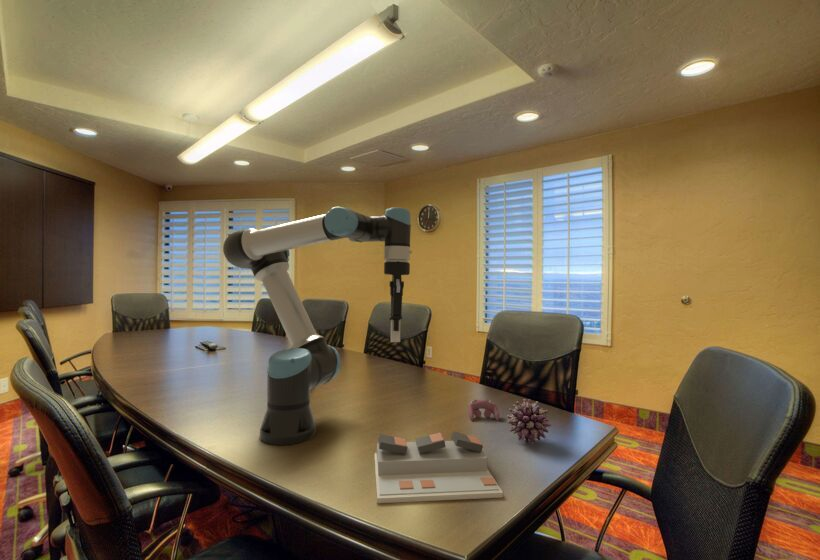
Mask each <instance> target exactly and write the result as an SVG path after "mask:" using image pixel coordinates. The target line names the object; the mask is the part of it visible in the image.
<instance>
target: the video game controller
mask: <svg viewBox="0 0 820 560" xmlns="http://www.w3.org/2000/svg"><path fill="white" fill-rule="evenodd" d="M480 409H482V410H483V409H484V411H483V416H484V417H485V418H486V417H487V418H490V417H491V416H492V415H493V417H494V418H495V421H496V422H497V421H499V420H500V413H499V410H498V406H497V404H496V403H495V402H494V401H493V400H489V399H482V398H478V399H474V400H471V401H470V402H469V403H468V404H467V412H468V417H469V419H470V421H471V422H472V421H474V418H477V417H478V418H480V417H481V416H482V411H481V410H480Z"/></svg>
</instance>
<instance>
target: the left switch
mask: <svg viewBox="0 0 820 560" xmlns="http://www.w3.org/2000/svg"><path fill="white" fill-rule="evenodd" d="M377 441H378V442H377V443H379V449H381V450H386V451H392V452H397V453H402V454H406V452H407V448H408V447H407V443H406V442H407V439H406V438H403V437H398V436H392V435H389V434H383V433H379V436H378V440H377Z"/></svg>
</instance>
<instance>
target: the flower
mask: <svg viewBox="0 0 820 560" xmlns="http://www.w3.org/2000/svg"><path fill="white" fill-rule="evenodd" d="M515 403H516V404H512V406H513V409H512V408H510V407H509V408H508V411H509V412H510V413H511V414H507V416H506V417H507V418H508V419H507V424H510V425H511V428H510V429H509V432H511V433H513V435H515V434H517V436H518V438H517V441H521V440H524V439H525V440H524V441H525V443H528V442H529V441H530V444H531V445H533V444H535V439H537V440H538V441H541V438H543V439H545V438H547V436H546V435H545V433H547V434H548V433H549V430H548V429H547V428H548V427H552V424H551V423H548V422H549V421H550V419H549V418H548V417H547V414H548V413H549V411H548V410H547V409H545V410H544V408H543V407H542V408H541V405H540V404H539V401H535V403H532V401H531V399H525V398H523V402H522V403H520V402H519V401H516V402H515Z"/></svg>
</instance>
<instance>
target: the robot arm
mask: <svg viewBox="0 0 820 560" xmlns="http://www.w3.org/2000/svg"><path fill="white" fill-rule="evenodd" d="M411 221H412V219H411V211H410V210H409V209H407V208H405V207H404V208H403V207H390V208H389V207H388V208H387V209H385V213H384V215H381V216H379V215H378V216H374V215H373V216H369V215H365V214H362V213H360V212H358V211H357V212H356V211H354V210H352V209H350V208H348V207H345V206H342V207H341V206H334V207H331V209H329V210H328V211H327V212H326V213H325V214H320V215H316V216H312V217H307V218H303V219H299V220H295V221H294V220H293V221H290V222H286V223H282V224H278V225H273V226H269V227H265V228H261V229H255V228H253V227H250V228H246V229H242V230H236V231H234V232H232V233H230V234H229V235H228V236H226V238H225V240H224V243H223V246H222V251H223V255H224V258H225V259H226V260H227V262H228V263H229V264H231V265H232V266H234V267H236V268H240V269H247V270H248V269H250V270H251V272H252V274H253V277H254V278H255V280H257V281H260V282H262V285H263V286H264V289H265V290H266V293H267V295H268V298H269V300H270V302H271V304H272V306H273V309H274V310H275V312H276V315H277V318H278V320H279V322H280V324H281V326H282V328H283V330H284V332H285V335H286V337H287V339H288V342H289V343H290V345H291V348H288V349H286V348H285V349H282V350H279V351H276V352H273V353H272V354H271V355H270V357H269V359H268V366H267V370H266V371H267V396H266V397H267V398H266V399H267V400H266V401H267V403H266V406H267V407H266V411H265V413H264V417H263V420H262V422H261V426H260V428H259V439H260V440H261V441H262V442H264V443H266V444H268V445H269V444H270V445H274V446H284V445H294V444H299V443H302V442H306V441H307V440H309V439H311V438H313V437H314V436H315V435H316V432H317V431H316V427H317V425H316V421H315V418H314V414H313V410H312V408H311V391H312V389H315V388H317V387H320V386H322V385H326V384H328V383H329V382H330V381H332V380H333V379H334V378H336V377H337V375H338V373H340V369H341V362H342V361H341V356H340V353H339V352H338V350H337V349H336V348H335V347H334V346H331V345H329V344H327V341H326V339H325V338H324V336H323V335H319V334H318V333H317V332H316V329H315V328H314V326H313V323H312V321H311V318H310V317H309V314H308V313H307V310H306V309H305V306H304V304H303V302H302V300H301V298H300V296H299V294H298V291H297V289H296V287H295V285H294V283H293V281H292V279H291V276H290V274H289V272H288V270H289V268H290V264H289V260H290V258H289V257H290V250H294V249H298V248H302V247H307V246H312V245H313V246H314V245H317V244H322V243H326V242H331V241H336V240H342V239H348V240H349V241H350V242H353V243H354V242H355V243H366V242H367V243H368V242H369V243H370V242H384V247H383V248H384V252H383V254H384V255H383V259H384V260H385V262H384V263H383V264H384V265H383V267H384V269H383V274H384V275H388V276H389V275H390V276H391V280H389V285H388V286H389V288H390V289H389V294H390V313H389V314H390V317H389V321H390V343H401V323H402V322H401V320H403V316H402V310H403V309H402V308H403V295H404V293H403V292H404V286H405V282H404V280H402V276H408V275H410V270H411V269H410V268H411V266H410V262H409V261H410V260H411V259H410V258H411V254H412V253H413V251H412V250H410V249H411V231H412V230H411V227H412V223H411Z"/></svg>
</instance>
